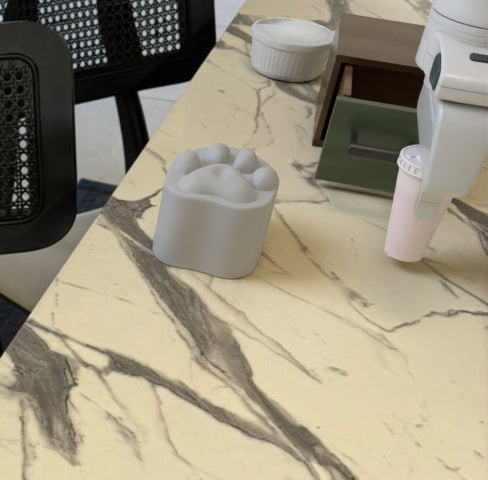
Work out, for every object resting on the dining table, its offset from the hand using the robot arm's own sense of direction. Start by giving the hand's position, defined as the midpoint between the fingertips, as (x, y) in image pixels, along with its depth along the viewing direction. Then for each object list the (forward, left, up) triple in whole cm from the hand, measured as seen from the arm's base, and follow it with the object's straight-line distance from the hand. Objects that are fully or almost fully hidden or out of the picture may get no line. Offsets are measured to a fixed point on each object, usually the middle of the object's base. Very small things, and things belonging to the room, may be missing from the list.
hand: (421, 199), depth 96 cm
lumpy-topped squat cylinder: (+18, +3, -7) cm, 20 cm away
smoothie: (0, 0, -6) cm, 6 cm away
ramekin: (+14, -49, -7) cm, 52 cm away
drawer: (+3, -19, -6) cm, 20 cm away
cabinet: (+3, -33, -7) cm, 34 cm away
